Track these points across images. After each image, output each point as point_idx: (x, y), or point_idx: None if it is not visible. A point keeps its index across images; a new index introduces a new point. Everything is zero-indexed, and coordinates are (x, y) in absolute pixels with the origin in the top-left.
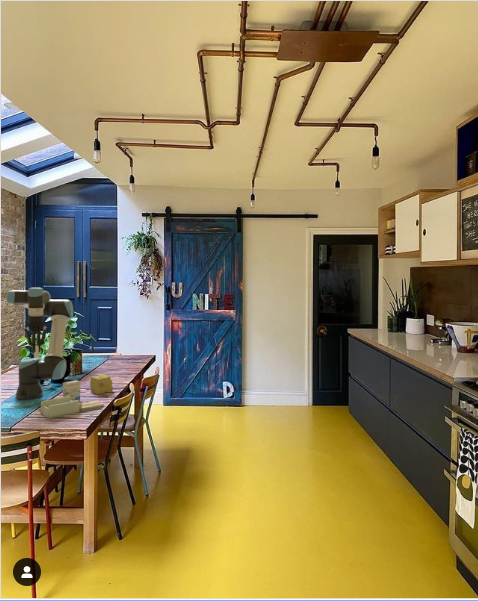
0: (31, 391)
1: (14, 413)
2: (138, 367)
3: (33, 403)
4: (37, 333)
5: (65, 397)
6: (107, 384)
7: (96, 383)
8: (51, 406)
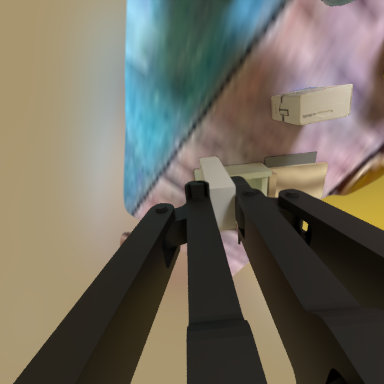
0: None
1: (143, 130)
2: None
3: (201, 58)
4: (304, 355)
5: (256, 177)
6: None
7: None
8: None
